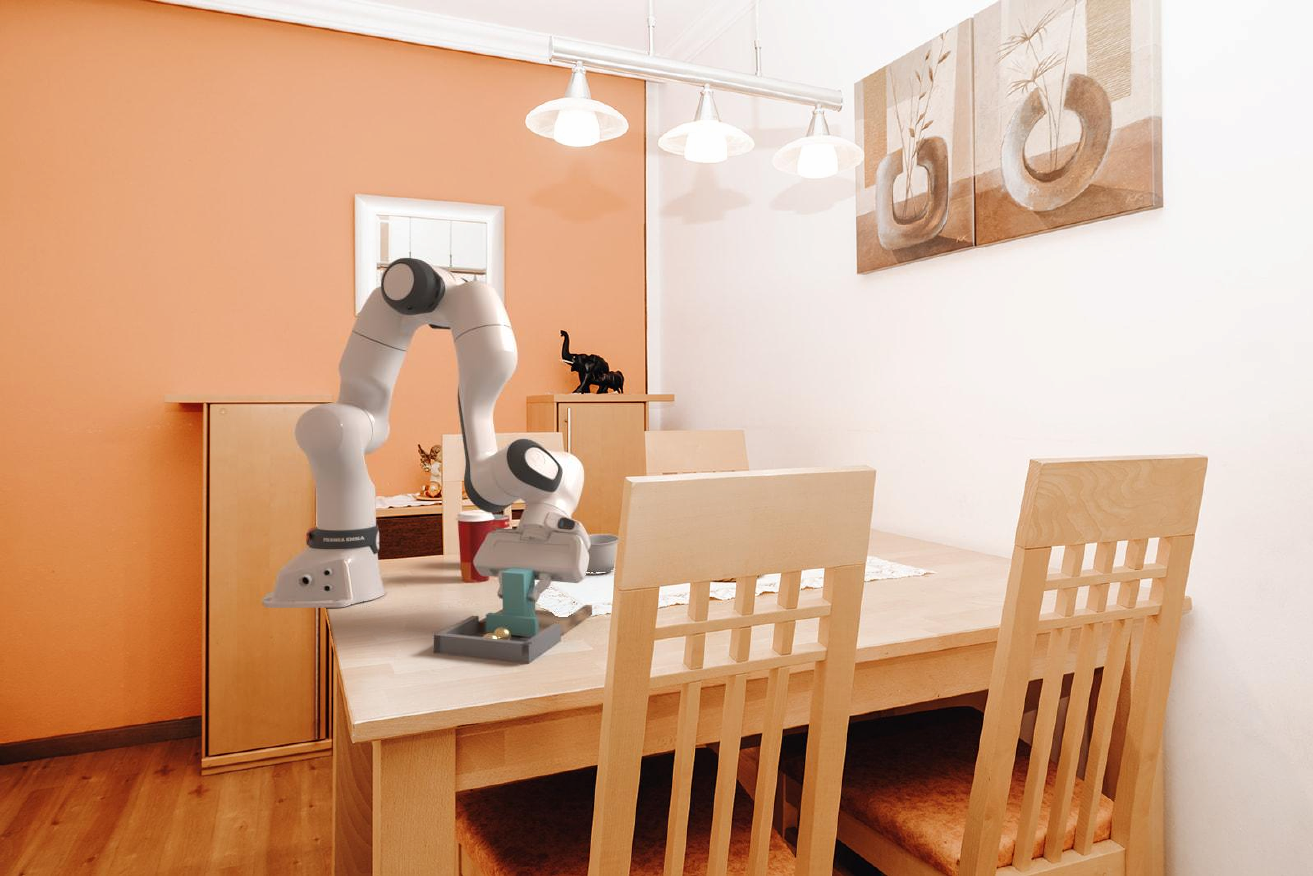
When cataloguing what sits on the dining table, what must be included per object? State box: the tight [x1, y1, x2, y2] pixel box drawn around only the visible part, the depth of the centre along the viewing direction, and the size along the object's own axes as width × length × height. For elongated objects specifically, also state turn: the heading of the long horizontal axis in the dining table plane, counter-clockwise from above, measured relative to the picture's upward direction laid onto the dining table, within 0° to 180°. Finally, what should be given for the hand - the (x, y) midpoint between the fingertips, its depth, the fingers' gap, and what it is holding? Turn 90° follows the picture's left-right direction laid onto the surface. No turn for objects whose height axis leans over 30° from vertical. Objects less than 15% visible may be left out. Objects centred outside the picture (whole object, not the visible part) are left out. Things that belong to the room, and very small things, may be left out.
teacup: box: [587, 533, 619, 573], centre depth 181 cm, size 14×11×8 cm
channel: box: [479, 604, 593, 639], centre depth 136 cm, size 17×14×2 cm
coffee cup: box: [455, 509, 494, 583], centre depth 171 cm, size 8×8×15 cm
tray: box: [433, 615, 562, 665], centre depth 124 cm, size 12×16×3 cm
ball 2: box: [493, 627, 511, 640], centre depth 124 cm, size 3×3×3 cm
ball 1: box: [483, 633, 499, 639], centre depth 121 cm, size 3×3×3 cm
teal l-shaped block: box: [485, 567, 539, 637], centre depth 129 cm, size 5×9×10 cm, turn 73°
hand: (516, 598), depth 129 cm, fingers closed on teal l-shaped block, 4 cm apart
